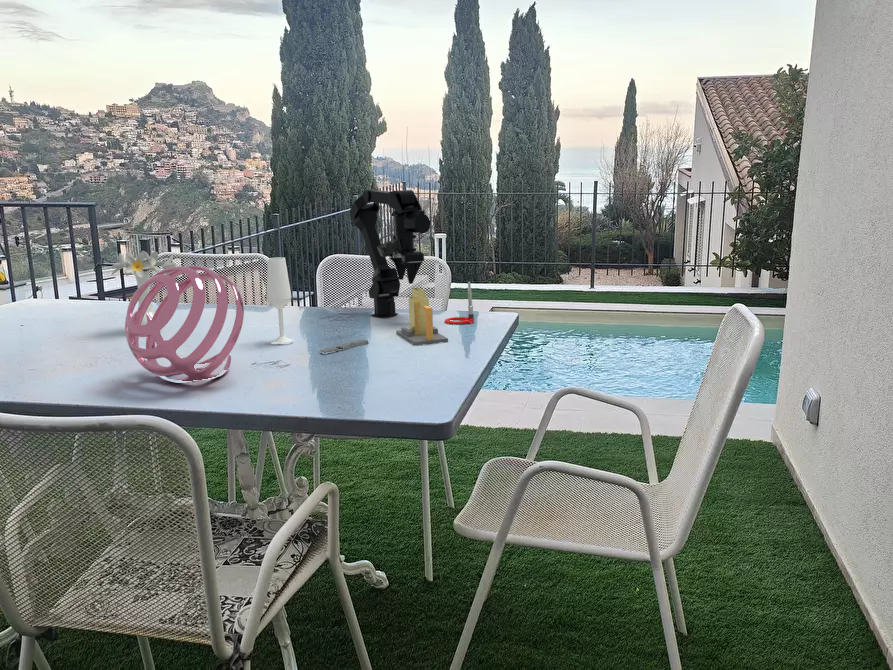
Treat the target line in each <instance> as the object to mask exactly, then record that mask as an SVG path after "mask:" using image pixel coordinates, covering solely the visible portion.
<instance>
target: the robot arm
mask: <svg viewBox="0 0 893 670" xmlns="http://www.w3.org/2000/svg"><path fill="white" fill-rule="evenodd" d="M380 204H384V205H388V207H389V208H391V209H393V211H392V213H390V215H391V217H394V234H393V235H392V236H391V238H392V239H391V240H389V241H387V242H384V243H382V241H381V239H380V236H379V233H378V230H377V223H378V217H379V216H378V213H379V211H380V209H381V207H380ZM349 215H350V218H351V220H352V222H353V224H354V226H355V227H356V228H358V230H359V231H360V232H361V234H362V237H363V240H364V243H365V246H366V249H367V252H368V256H369V260H370V262H371V265H372V268H373V274H372V278H371V281H372V282H371V283H372V285H371V286H370V288H369V289H368V297H369V298H370V299H372V300H373V305H374V306H373V309H374V310H373V311H374V313H371V315H370V316H371V317H378V318H384V319H385V317H387V318H390V317H393V316H392V315H394V316H396V315H395V314H399V313H398V312H396V302H395V297H399V295H400V294H399V293H400V289H401V281H402V280H404V278H405V274H406V275H407V281H408V284H410V285H411V284H413V283H414V281H415V279H416V276H417V275H418V271H419V270H420V267H421V265H422V264H423V262H424V261H425V254H424V253H423V252H422V251H419V250H417V248H416V247H415V239H416V237H417V235H416V234H426V233H428V231H429V230H430V229H431V223H432V222H431V220H430V217H429V216H428V215H427V214H425V210H423V209H422V205H421V204H420V202H419V200H418V197H417V196H416V194H415V192H414V190H412V189H404V190H403V189H402V190H392V191H388V190H380V189H377V188H371V189H370V188H369V189H365V190H364V191H363V192H362V194H361V196H359V197H358V198H357V199H355V200H354V202H353V204H352V206H350V211H349ZM414 233H415V234H414ZM387 257H388V259H390V260H391V261H392V262H393V264H394V266H395V267H393V268H392V267H390V266H389V264H388V260H387ZM389 316H390V317H389Z"/></svg>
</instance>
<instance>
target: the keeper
mask: <svg viewBox="0 0 893 670" xmlns="http://www.w3.org/2000/svg"><path fill="white" fill-rule="evenodd" d="M423 310H424V311H425V329H426V335H418V336H414V335H413V334H412V331H410V328H409V329H408V328H407V327H401V328H400V330H395V333H396V335H397V336H399V337H400V336H401V337H400V338H401V339H403V338H404V339H403V340H405V339H406V340H407V341H406V340H405V341H406V342H408V341H409V342H410V343H409V342H408V343H409V344H411V343H412V344H413V346H414V345H417V346H422V345H423V344H426V345H432V343H435V344H440V343H439V342H443V343H448V342H449V338H448V337H446V336H444V335H442V333H441V334H440V333H439V329H438V328H437V327H435V326H433V325H434V320H433V318H434V317H433V307H431V306H430V305H429V306H423ZM412 344H411V345H412ZM423 346H424V345H423Z"/></svg>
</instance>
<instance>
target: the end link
mask: <svg viewBox="0 0 893 670" xmlns="http://www.w3.org/2000/svg"><path fill="white" fill-rule="evenodd" d="M423 306H429V307H430V298H429V297H427V296H426V290H425V289H424V288H421V287H412V288H411V296H408V319H409V320H408V321H409V329H410V331H412V334H413V335H414V336H418V335H426V329H425V311H424V310H423Z"/></svg>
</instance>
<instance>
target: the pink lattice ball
mask: <svg viewBox="0 0 893 670" xmlns="http://www.w3.org/2000/svg"><path fill="white" fill-rule="evenodd" d="M161 270H162V271H158V273H157V272H156V273H155V274H153V275H152V276H150V277H149V278H148V280H147V281H145V282H144V283H143V284H142V285H141V286H140V287H139V288H138V287H137V289H136V290H135V292H134V293H133V295H132V296H131V299H130V300H129V303H128V306H127V309H126V314H125V315H126V316H125V321H124V333H125V334H124V335H125V338H126V342H127V345H128V348H129V349H130V351H131V354H132V355H133V357H134V358H135V360H136V361H137V362H138V363H139V364H140V365H141V366H142V368H144V369H145V370H147V372H149V373H151V374H154V375H156V376H157V375H158V376H167V377H168V376H173V375H177V374H182V375H183V374H184V375H186V376H187V377H184V378H179V379H178V378H176V379H177V380H182V381H193V380H202V379H208V378H212V377H216V376H217V375H219V373H217V374H212V373H213V372H214V371H216V370H217V369H218V368H219V367H220V366H221V365H222V364H223V362H225V360H226V359H227V360H226V363H225V365H224V367H223V369H224V370H227V369H228V368H229V369H230V367H231V364H232V363H231V362H232V356H231V355H230V354H231V353H232V351H233V349H234V348H235V345H236V343H237V342H238V339H239V337H240V334H241V331H242V328H243V323H244V315H245V305H244V301H243V296H242V294H241V292H240V290H239V288H238V287H237V286H236V284H235V283H234V282H233V281H232V280H231V279H230V278H228V277H226V276H224V275H223V274H221V273H217V272H215V271H214V270H212V269H210V268H208V267H205V266H201V265H199V266H198V265H189V266H182V265H178V266H177V265H176V266H175V267H170V268H167V269H164V268H163V269H161ZM197 271H201V272H202V273H198V272H197ZM168 272H171V273H169V274H168V275H166V273H168ZM183 274H185V275H186V277H188V278H186V279H184V280H183V281H181V282H180V283H178V281H177V279H176V278H177V277H179V276H181V275H183ZM209 280H212V281H213V282H214V285H215V288H216V292H217V295H216V296H217V304H216V310H215V314H214V317H213V320H212V323H211V326H210V327H209V329H208V331H207V333H206V334H205V336H204V338H203V339H202V341H201V342H200V343H199V344H198V346H197V347H196V348H195V349H194V350H193V351H192V352H191V353H190V354H188V355H187V356H186V357H180V355H178V354H177V350H178V349H179V348H180V347H181V346H182V345H183V344H185V342H186V341H187V340H188V339H189V338H190V336H191V335H192V333H193V332H194V331H195V329H196V328H197V326H198V323H199V322H200V320H201V318H202V314H203V312H204V307H205V302H206V287H205V283H204V281H209ZM154 283H155V285H153V286H152V288H151V289H149V293H148V294H147V295H146V297H145V298H144V300H143V301H142V303H141V305H140V307H139V309H138V308H137V309H138V311H137V310H136V311H135V307H136V306H137V305H138V303H139V298H140V297H141V295H142V294H143V292H144V291H145V290H146V289H147V287H148V288H149V286H151V284H154ZM225 283H226V284H228V285H229V287H230V288H231V289H232V292H233V294H234V297H235V303H236V311H235V319H234V323H233V326H232V330H231V333H230V334H229V337H228V338H227V340H226V343H225V344H224V346H223V347H222V349H221V350H220V352H218V353H216V354H215V355H214V356H212V357H209V358H207V359H206V360H203V361H200V360H202V359H203V358H204V357H205V355H206V354H207V353H209V351H210V350H211V348H212V347H213V346H214V344H215V343H216V341H217V339H218V338H219V336H220V334H221V332H222V329H223V328H224V324H225V322H226V318H227V313H228V307H229V297H228V291H227V290H228V289H227V287H226V284H225ZM164 287H166V292H167V294H166V296H165V297H164V298H163V300H162V301H161V302H160V304H158V307H156V309H155V310H156V312H155V314H154V316H153V318H151V316H150V314H149V313H148V312H147V313H146V316H147V324H146V325H141V323H142V320H143V317H144V315H145V312H146V310H147V308H148V307H149V305H150V303H152V301H153V300H154V299H155V297H156V296H157V295H158V293H160V291H161V290H163V288H164ZM190 288H192V302H191V306H190V309H189V312H188V314H187V315H186V316H187V317H186V319H185V321H184V322H183V324H182V325H181V326H180V328H179V329H178V330H177V332H175V334H174V335H173V336H172V337H170V338H169V339H167V340H166V339H164V338H163V336H162V335H161V330H163V328H164V327H165V326H166V325H167V324H168V323H169V322H170V320H171V319H172V318H173V316H174V314H175V312H176V310H177V308H178V304H179V301H180V296H181V295H182V294H183V293H184V292H185V291H187V290H188V289H190ZM134 311H135V312H134ZM133 312H134V313H133ZM145 337H146V340H145V348H141V347H139V339H140V338H145ZM162 358H163V359H166V360H168V361H169V362H170V365H169V366H163V365H160V364H159V363H158V360H157V359H162ZM199 361H200V362H199ZM205 363H209V364H207V365H206V367H205V366H204V368H202V369H201V368H200V369H195V368H194V365H195V364H205ZM229 369H228V370H229ZM158 376H157V377H158Z"/></svg>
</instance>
